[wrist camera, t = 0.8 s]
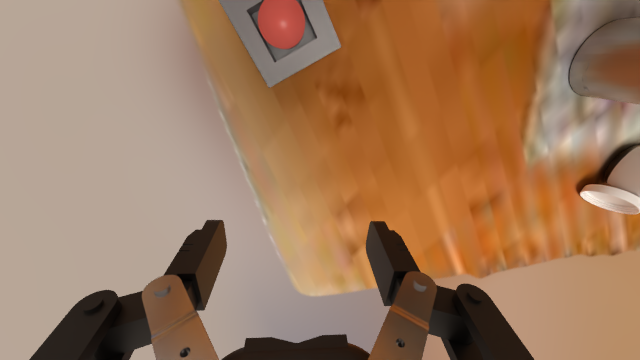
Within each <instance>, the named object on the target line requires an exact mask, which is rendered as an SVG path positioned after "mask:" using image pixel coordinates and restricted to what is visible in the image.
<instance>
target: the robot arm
mask: <svg viewBox="0 0 640 360" xmlns="http://www.w3.org/2000/svg"><path fill="white" fill-rule="evenodd" d="M569 78H570V84H571V87H572V89H573V90H574V91H575V92H576V93H577V94H579V95H582V96H588V97H595V98H601V99H608V100H614V101H620V102H627V103H634V104H640V17H635V18H626V19H619V20H615V21H612V22H610V23H608V24H606V25H604V26H603V27H601V28H600V29H598V30H597V31H596V32H594V33H593V34H592V35H591V36H590V37H589V38H588V39H587V40H586V41H585V43H584V44H583V45H582V46H581V48H580V49H579V51H578V52H577V54H576V56H575V58H574V60H573V62H572V66H571V69H570V76H569ZM226 248H227V242H226V235H225V228H224V222H223V221H222V220H207V221H206V223H205V225H204V226H203V228H202V230H195V231H194V232H193V233H191V234H190V235H189V236H188V237H187V238H186V240H185V242H184V243H183V246H181V248H180V250H179V252H178V253H177V255H176V256H175V258H174V259H173V261H172V262H171V264H170V266H169V267H168V269H167V271H166V272H165V274H164V276H161V277H159V278H157V279H155V280H153V281H152V282H150V283H149V284H148V285H147V286H146V287H145V288H144V290H143V291H141V292H137V293H134V294H130V295H126V296H122V297H118V296H117V294H116V293H115V292H114V291H111V290H103V291H99V292H95V293H93V294H90V295H89V296H86V297H85V298H83V299H82V300H80V301H79V302H78V303H77V304H76V305H75V306H74V307H73V308H72V309H71V310H70V311H69V313H68V314H67V315H66V316H65V318H64V319H63V320H62V321H61V322H60V323H59V325H58V326H57V327H56V328H55V329H54V331H53V332H52V333H51V334H50V335H49V337H48V338H47V339H46V340H45V341H44V343H43V344H42V345H41V346H40V348H39V349H38V350H37V351H36V352H35V354H34V355H33V356H32V357H31V358H30V360H129V359H130V357H131V355H132V353H133V351H134V350H135V349H137V348H140V347H143V346H146V345H149V344H152V345H153V349H154V353H155V357H156V360H219V359H218V356H217V354H216V352H215V350H214V347H213V345H212V343H211V341H210V339H209V337H208V334H207V332H206V330H205V328H204V326H203V323H202V321H201V319H200V317H199V315H198V313H197V310H205V307H206V305H207V302H208V299H209V297H210V294H211V291H212V289H213V286H214V283H215V281H216V278H217V275H218V273H219V270H220V267H221V265H222V262H223V259H224V257H225V254H226ZM366 252H367V256H368V259H369V262H370V265H371V268H372V271H373V274H374V277H375V280H376V283H377V286H378V289H379V291H380V294H381V297H382V300H383V303H384V306H391V307H390V309H389V312H388V314H387V316H386V319H385V321H384V323H383V326H382V328H381V331H380V333H379V335H378V337H377V340H376V342H375V344H374V347H373V349H372V351H371V354H369V353H368V352H366V351H364V350H363V349H362V348H360V347H358V346H356V345H353V344H350V343H348V342H347V336H346V335H322V336H319V337H316V338H313V339H310V340H306V341H303V342H300V343H293V342H288V341H284V340H280V339H276V338H272V337H267V338H246V341H245V347H243V348H240V349H238V350H236V351H234V352H232V353H230V354H229V355H227V356H226V357H224V358H223V359H222V360H422V356H423V351H424V347H425V343H426V339H427V335H428V334H431V335H435V336H438V337H441V339H442V341H443V343H444V346H445V348H446V350H447V353H448V355H449V357H450V360H534V358H533V357H532V356H531V354H530V353H529V351H528V350H527V349H526V347H525V346H524V345H523V343H522V342H521V340H520V339H519V337H518V336H517V335H516V333H515V332H514V331H513V329H512V328H511V326H510V325H509V323H508V322H507V321H506V319H505V318H504V316H503V315H502V314H501V312H500V311H499V309H498V308H497V307H496V305H495V304H494V303H493V301H492V300H491V298H490V297H489V296H488V295H487V294H486V293H485V292H484V291H483V290H481V289H480V288H478V287H476V286H474V285H471V284H461V285H459V286H458V287H457V289H456V290H452V289H448V288H444V287H440V286H437V285H436V284H435V282H434V281H433V280H432V279H431V278H430V277H429V276H427V275H426V274H424V273H421V272H420V270H419V268H418V266H417V265H416V263H415V261H414V259H413V257H412V256H411V254H410V252H409V251H408V248H407V247H406V245H405V243H404V241H403V239H402V237H401V236H400V235H399V234H397V233H396V232H395V231H394V230H389V229H388V227H387V225H386V223H385V222H384V221H371V222H370V225H369V230H368V235H367V240H366Z"/></svg>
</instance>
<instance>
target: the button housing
mask: <svg viewBox="0 0 640 360" xmlns="http://www.w3.org/2000/svg"><path fill="white" fill-rule="evenodd" d="M263 1H264V0H219V2H220V4H221V5H222V7H223V9H224V11H225V12H226V14H227V16H228V18H229V19H230V21H231V23H232V25H233V26H234V28H235V30H236V31H237V33H238V35H239V37H240V38H241V40H242V42H243V44H244V45H245V47H246V49H247V51H248V52H249V54H250V56H251V58H252V59H253V61H254V63H255V64H256V66H257V68H258V70H259V71H260V73H261V75H262V77H263V78H264V80H265V82H266V84H267V85H268V87H269V88H270V87H272V86H273V85H275V84H277V83H279V82H281V81H282V80H284V79H286V78H288V77H289V76H291V75H293V74H295V73H296V72H298V71H300V70H302V69H303V68H305V67H307V66H309V65H310V64H312V63H314V62H316V61H317V60H319V59H321V58H323V57H324V56H326V55H328V54H330V53H332V52H333V51H335V50H337V49H339V48H340V47H341V45H340V42H339V40H338V37H337V35H336V32H335V30H334V27H333V25H332V22H331V20H330V17H329V15H328V12H327V10H326V7H325V5H324V2H323V0H296V1H297V2H298V3H299V5H300V6H301V8H302V10H303V13H304V17H305V29H304V34H303V37H302V39H301V41H300V42H299V43H298V44H297V45H296V46H295V47H293V48H290V49H280V48H276V47H274V46H272V45H271V44H269V43H268V42H267V41H266V40H265V39H264V37H263V36H262V34H261V32H260V29H259V25H258V12H259V9H260V6H261V4H262V3H263Z"/></svg>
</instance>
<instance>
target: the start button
mask: <svg viewBox="0 0 640 360" xmlns="http://www.w3.org/2000/svg"><path fill="white" fill-rule="evenodd" d="M258 25H259V29H260V32H261V34H262V36H263V37H264V39H265V40H266V41H267V42H268V43H269V44H271V45H272V46H274V47H276V48H280V49H290V48H293V47H295V46H296V45H297V44H298V43H299V42H300V41H301V39H302V37H303V34H304V29H305V17H304V13H303V10H302V8H301V6H300V5H299V3H298V2H297V1H296V0H264V1H263V3H262V4H261V6H260V9H259V12H258Z"/></svg>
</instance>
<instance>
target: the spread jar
mask: <svg viewBox="0 0 640 360" xmlns="http://www.w3.org/2000/svg"><path fill="white" fill-rule="evenodd" d="M604 180H605V182H606V183H607V184H608V185H609V186H606V185H598V184H590V185H586V186H584V188H583V189H582V191H581V192H580V196H581V197H582V198H583V199H584V200H586V201H588V202H590V203H591V204H594V205H596V206H598V207H601V208H604V209H607V210H610V211H614V212H618V213H624V214H638V213H640V145H636V146H633V147H630V148H628V149H626V150H625V151H623V152H621V153H620V154H619V155H617V156H616V157H615V158H614V159H613V160H612V161H611V162H610V164H609V165H608V167H607V169H606V172H605V177H604ZM610 186H611V187H610Z"/></svg>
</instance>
